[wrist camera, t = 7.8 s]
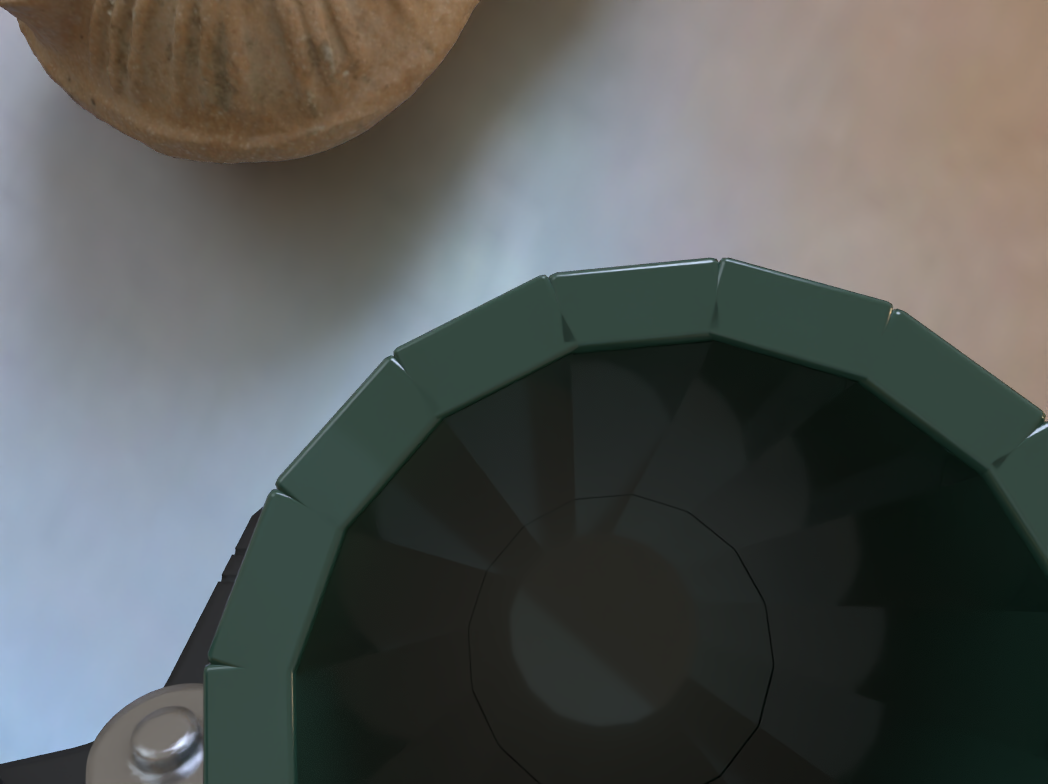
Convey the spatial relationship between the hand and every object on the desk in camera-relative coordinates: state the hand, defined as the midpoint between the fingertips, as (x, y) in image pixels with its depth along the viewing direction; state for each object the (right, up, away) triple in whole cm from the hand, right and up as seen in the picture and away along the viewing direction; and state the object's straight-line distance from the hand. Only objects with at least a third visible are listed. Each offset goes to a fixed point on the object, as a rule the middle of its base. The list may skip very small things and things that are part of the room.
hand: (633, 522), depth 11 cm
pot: (0, -3, +4) cm, 5 cm away
